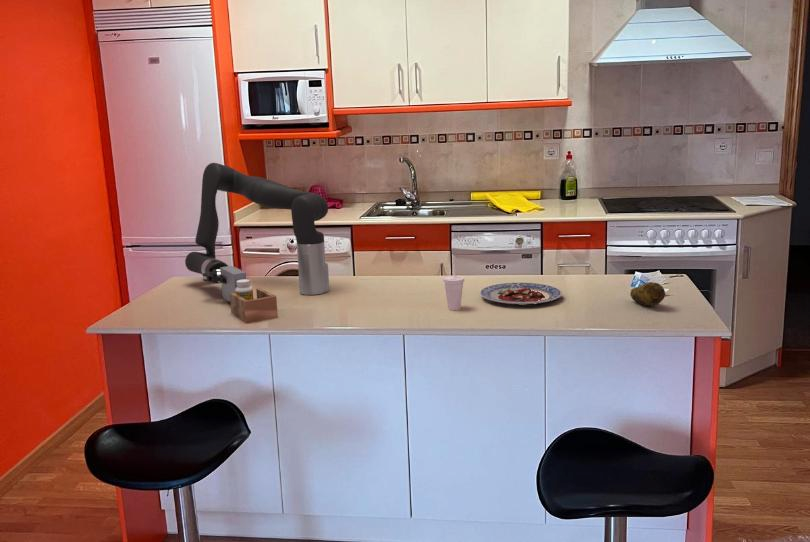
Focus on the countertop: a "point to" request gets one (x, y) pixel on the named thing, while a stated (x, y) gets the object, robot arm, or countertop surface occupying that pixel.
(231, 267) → the grey rectangular box
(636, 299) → the potato
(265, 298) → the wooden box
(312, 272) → the robot arm
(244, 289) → the supplement bottle
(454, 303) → the smoothie
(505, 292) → the ceramic plate
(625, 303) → the countertop surface
